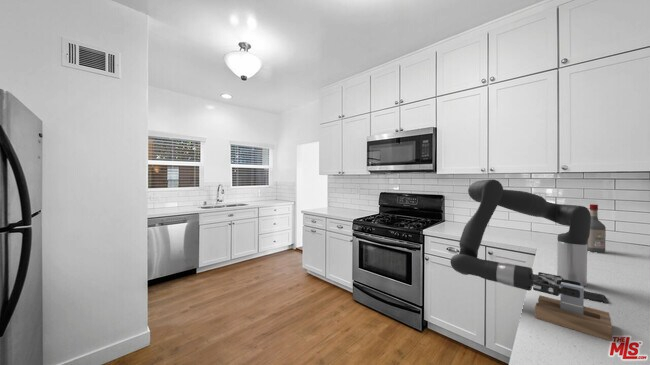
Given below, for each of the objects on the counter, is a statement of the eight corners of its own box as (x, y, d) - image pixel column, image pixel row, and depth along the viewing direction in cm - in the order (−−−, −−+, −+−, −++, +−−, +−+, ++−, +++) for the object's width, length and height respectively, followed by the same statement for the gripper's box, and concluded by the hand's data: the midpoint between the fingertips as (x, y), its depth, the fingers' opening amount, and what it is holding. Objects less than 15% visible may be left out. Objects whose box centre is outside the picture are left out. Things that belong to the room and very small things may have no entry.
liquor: (608, 253, 159) (608, 205, 159) (590, 252, 161) (591, 204, 161) (595, 249, 168) (596, 204, 168) (579, 248, 170) (579, 203, 170)
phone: (608, 301, 90) (551, 289, 100) (608, 305, 90) (551, 292, 100) (604, 294, 96) (550, 283, 106) (604, 297, 96) (550, 286, 106)
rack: (539, 305, 88) (539, 295, 88) (608, 324, 77) (608, 312, 77) (534, 317, 80) (535, 306, 80) (611, 340, 68) (612, 327, 68)
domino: (560, 316, 81) (561, 281, 81) (583, 322, 77) (583, 286, 77) (560, 319, 79) (560, 283, 79) (583, 326, 75) (583, 288, 75)
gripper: (510, 269, 83) (580, 284, 72) (518, 260, 93) (580, 272, 82) (509, 292, 83) (580, 310, 72) (517, 281, 93) (580, 295, 82)
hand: (580, 290), depth 77 cm, fingers open, 8 cm apart
